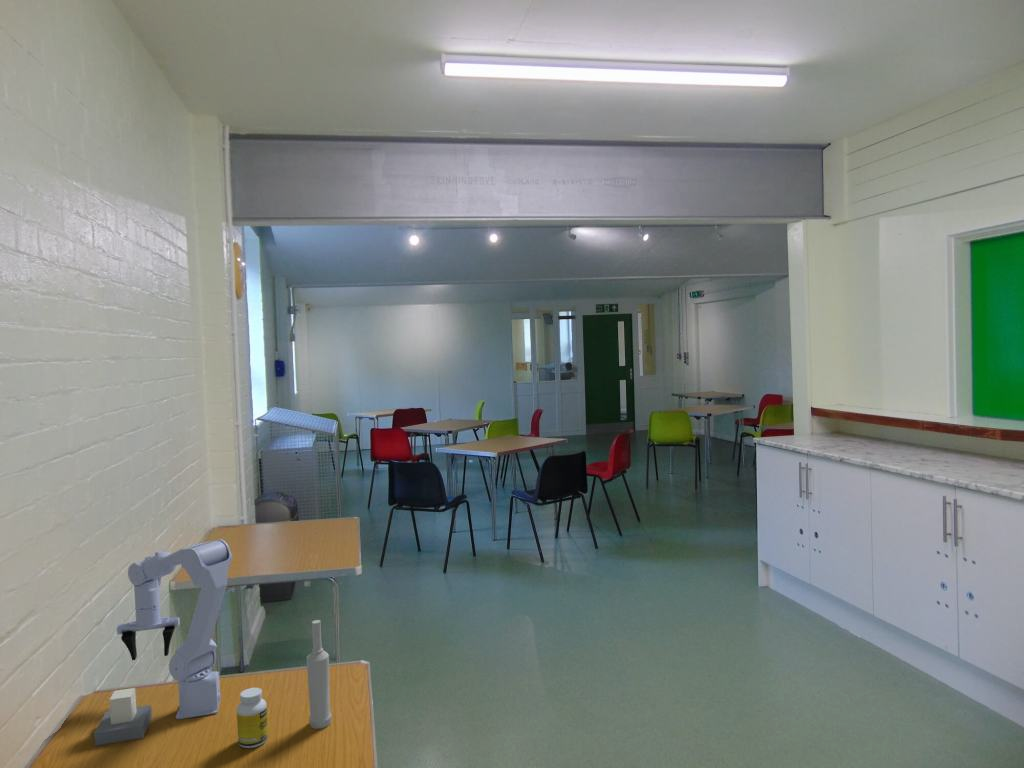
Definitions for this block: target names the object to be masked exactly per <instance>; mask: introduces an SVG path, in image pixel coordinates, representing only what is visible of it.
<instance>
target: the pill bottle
mask: <svg viewBox="0 0 1024 768" xmlns="http://www.w3.org/2000/svg"><path fill="white" fill-rule="evenodd" d="M262 690H263V689H261V688H260V687H250V688H247V689H244V690H242V691H241V692H240V694H239V697H240V699H239V700H240V703H239V704H238V705H237V707H236V720H237V721H236V722H237V723H236V724H237V740H238V741H237V743H238V745H239V746H240V747H242V748H244V749H253V748H257V747H259V746H261V745H263V744H264V743H265V742H266V741H267V740H268V739H269V729H268V728H269V726H268V709H267V706H268V705H267V701H266V700H265V699H263V698H262V697H263V691H262Z"/></svg>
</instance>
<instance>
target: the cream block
mask: <svg viewBox="0 0 1024 768" xmlns="http://www.w3.org/2000/svg"><path fill="white" fill-rule="evenodd" d="M136 695H137V694H136V687H132V688H126V689H119V690H114V691H113V692H112V694H111V697H110V698H109V699H108V700H109V711H110V717H111V725H112V724H118V723H125V722H131V721H133V719H134V716H135V714H136V712H137V710H136V707H137V697H136Z"/></svg>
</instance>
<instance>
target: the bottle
mask: <svg viewBox="0 0 1024 768" xmlns="http://www.w3.org/2000/svg"><path fill="white" fill-rule="evenodd" d="M311 631H312V649H311V652H310V653H309V654H308V655H307V656H306V669H307V670H306V671H307V684H308V685H307V686H308V700H309V715H310V716H309V717H308V719H309V720H308V721H309V725H310V727H311V728H312V729H315V730H319V729H324V728H327V727H328V726H330V724H331V723H332V712H331V707H330V706H331V705H330V704H331V698H330V696H331V695H330V694H331V693H330V654H329V653H328V652H327V651H325V650H324V648H323V647H322V623H321V620H320V619H315V620H313V621H311Z"/></svg>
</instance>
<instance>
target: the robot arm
mask: <svg viewBox="0 0 1024 768" xmlns="http://www.w3.org/2000/svg"><path fill="white" fill-rule="evenodd" d="M232 560H233V554H232V551H231V548H230V546H229V544H228V543H227V541H225V540H224V539H221V538H218V539H214V540H209V541H204V542H201V543H195V544H193V545H189V546H186V547H183V548H181V549H178V550H176V551H174V552H168V551H164V550H160V551H159V550H158V551H156V552H154V556H151V555H149V556H146V557H145V558H144V560H141V561H138V562H133V563H132V564H130V565H129V566H128V570H127V575H128V576H127V577H128V579H129V581H130V583H131V584H132V585H133V589H134V590H133V593H134V609H135V620H134V621H131V622H125V623H120V624H118V625H117V626H116V634H117V636H119V635H121V637H120V638H121V641H122V642H123V643H124V645H125V646H126V648H127V651H128V652H129V654H130V657H131V661H135V660H137V658H138V656H137V655H138V654H137V653H138V652H137V645H136V644H137V643H136V642H137V641H136V640H137V638H136V637H137V636H136V635H137V634H136V633H137V632H140V631H141V632H142V631H149V630H151V631H152V630H158V629H163V631H162V637H163V646H164V647H163V651H164V652H163V655H164V657H166V656H167V657H168V655H169V653H170V645H171V641H172V638H173V635H174V632H175V629H176V628H179V627H180V624H181V621H180V619H181V618H180V617H179V616H178V617H162V616H161V603H160V602H161V601H160V586H161V584H162V577H165V576H167V575H170V574H172V573H173V572H174V571H175V570H176V569H177V566H181V568H183V569H184V570H185V571H186V574H187V575H188V576H189V578H190V580H191V582H192V584H193V585H194V586H195V587H198V588H200V591H199V595H198V599H197V601H196V605H195V610H194V613H193V616H192V619H191V622H190V626H189V629H188V633H187V637H186V638H185V639H186V640H184V642H183V643H181V644H180V645H179V646H178V648H176V649H175V652H174V654H173V655H172V656H171V657H170V659H169V662H168V671H169V673H170V675H171V677H172V679H174V680H176V681H177V686H178V704H179V705H178V706H179V708H178V710H177V712H176V715H175V720H184V719H189V718H195V717H201V716H202V717H203V716H207V715H213V714H214V715H215V714H217V713H218V712H219V707H220V703H221V699H222V697H221V687H220V686H221V685H220V672H219V671H213V666H214V665H215V664H216V661H217V648H218V645H217V644H216V642H215V641H214V640H213V638H212V637H213V633H214V630H215V626H216V623H217V621H218V620H217V619H218V618H219V617H218V616H219V614H220V610H221V606H222V603H223V600H224V596H225V592H226V589H227V586H228V573H229V569H230V566H231V564H232V563H231V562H232Z"/></svg>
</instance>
